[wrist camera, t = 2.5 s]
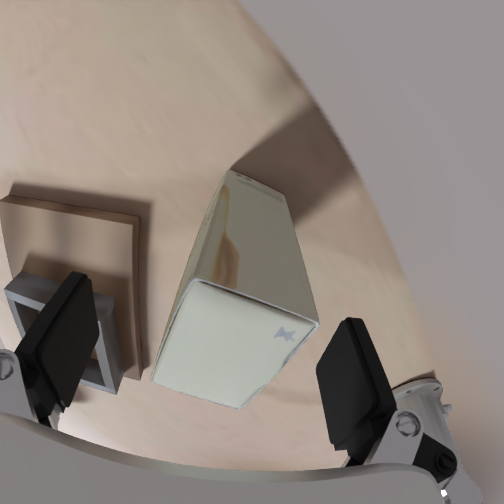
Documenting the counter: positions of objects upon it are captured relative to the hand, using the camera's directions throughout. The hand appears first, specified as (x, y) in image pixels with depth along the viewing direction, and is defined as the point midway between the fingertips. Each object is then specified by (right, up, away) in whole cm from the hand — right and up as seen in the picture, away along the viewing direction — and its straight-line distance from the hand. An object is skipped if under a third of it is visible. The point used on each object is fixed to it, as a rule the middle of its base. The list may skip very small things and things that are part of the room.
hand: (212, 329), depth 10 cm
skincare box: (0, +5, +10) cm, 11 cm away
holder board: (-15, -1, +13) cm, 20 cm away
